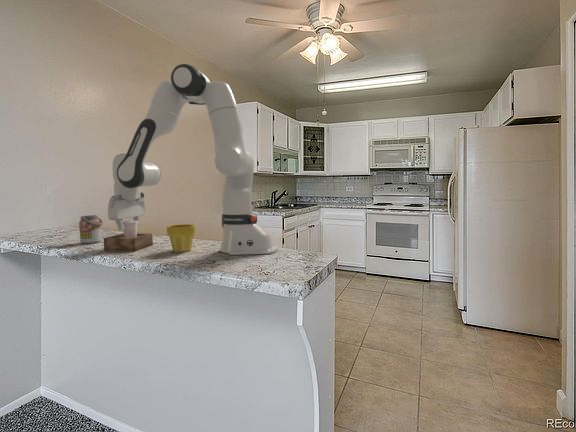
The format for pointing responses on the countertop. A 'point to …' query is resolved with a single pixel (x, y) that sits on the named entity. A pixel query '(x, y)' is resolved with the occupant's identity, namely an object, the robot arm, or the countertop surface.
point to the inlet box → (128, 242)
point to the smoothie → (130, 229)
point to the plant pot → (181, 236)
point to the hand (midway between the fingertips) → (128, 228)
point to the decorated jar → (90, 229)
